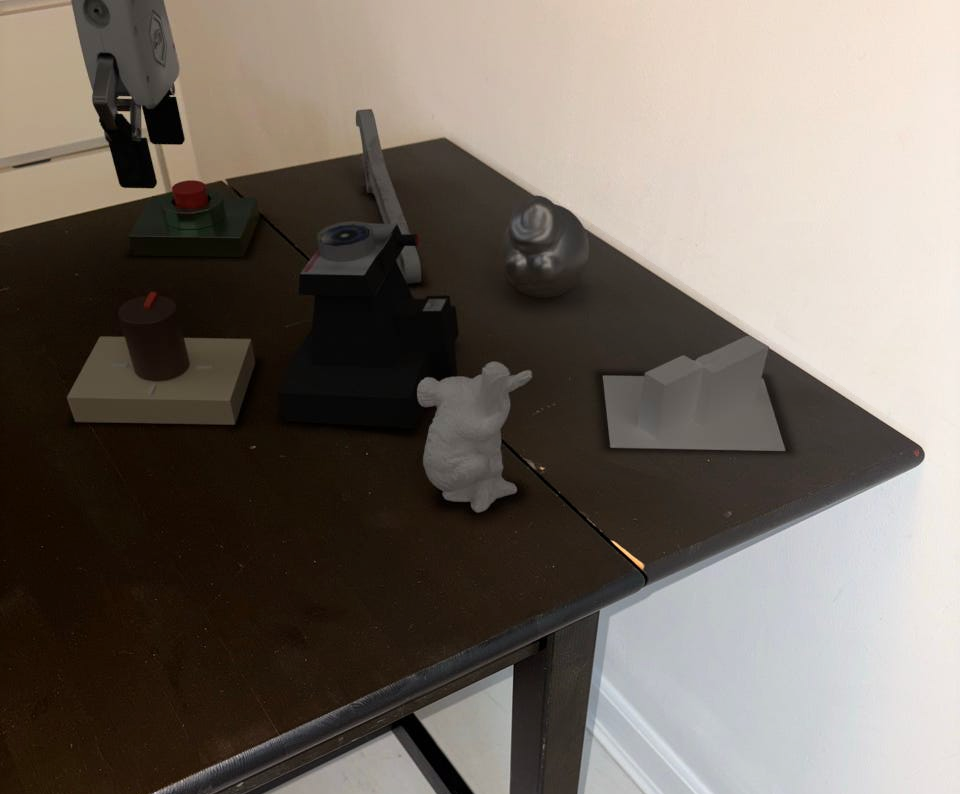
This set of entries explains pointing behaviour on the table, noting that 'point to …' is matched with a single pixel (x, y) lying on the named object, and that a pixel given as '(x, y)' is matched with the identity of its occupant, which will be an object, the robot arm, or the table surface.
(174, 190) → the button
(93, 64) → the robot arm
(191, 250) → the button block
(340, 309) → the camera
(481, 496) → the animal figurine
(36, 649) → the table surface
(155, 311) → the dial
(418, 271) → the wrench
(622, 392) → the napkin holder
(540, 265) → the dark grey rounded lump
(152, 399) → the panel
